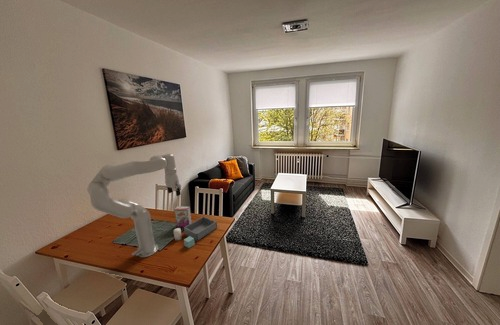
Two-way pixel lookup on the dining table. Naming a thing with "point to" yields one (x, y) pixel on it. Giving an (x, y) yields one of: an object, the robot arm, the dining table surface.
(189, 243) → the teal cube
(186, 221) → the candy bar box
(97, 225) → the dining table surface
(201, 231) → the tote
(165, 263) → the dining table surface
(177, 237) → the white cylinder
